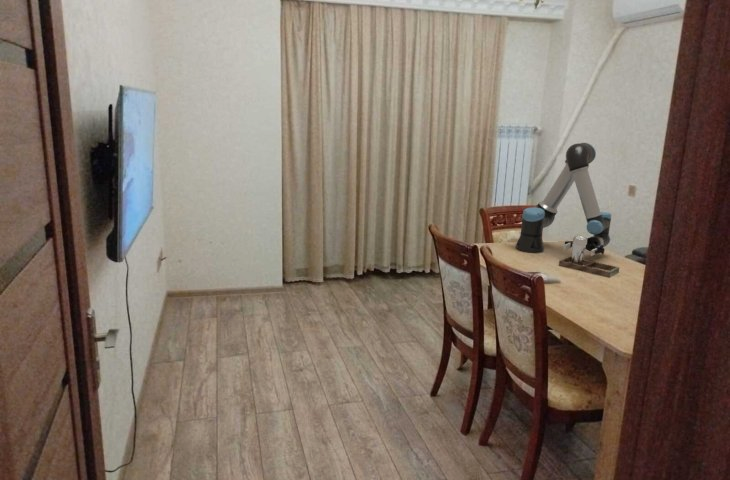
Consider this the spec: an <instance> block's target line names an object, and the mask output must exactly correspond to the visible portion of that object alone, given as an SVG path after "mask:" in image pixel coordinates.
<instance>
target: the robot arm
mask: <svg viewBox="0 0 730 480" xmlns="http://www.w3.org/2000/svg"><path fill="white" fill-rule="evenodd" d="M596 155H597V153H596V149H595V147H594V146H593V145H592V144H591V143H588V142H581V143H580V142H579V143H574V144H572V145H570V146H569V147H568V149H567V150H566V152H565V160H564V163H565V165H564V167H563V168H562V170H561V172H560V173H559V175H558V177H557V178H556V180H555V181H554V183H553V184H552V186H551V188H550V189H549V191H548V192H547V194H546V196H545V197H544V199H543V200H541V201H539V202H538V204H537V205H536V206H535V207H534V206H533V207H527V208H525V209H523V213H522V215H521V216H522V217H521V225H520V235H519V238H518V240H517V242H516V244H515V249H516V250H517V251H520V252H524V253H525V252H526V253H533V254H536V253H543V252H544V249H545V247H544V246H545V245H544V241H543V230H544V229H545V228H548V227H550V226H551V225H552V224H553V223H554V221H555V218H556V217H555V216H556V215H557V214H558V207H559V205H560V204H561V202H562V201H563V200H564V198H565V196H566V195H567V194H568V192H569V190H570V189H571V187H572V186H573V184H574V183H575V185H576V190H577V193H578V196H579V200H580V204H581V206H582V210H583V212H584V213H583V214H584V216H585V220H586V223H587V225H586V230H587V233H589V234H590V235H593V236H590V237H586V238H587V248H586V251H588V252H590V256H591V257H593V256H595V255H597V254H601V255H605V254H604V253H605V247H606V246H607V245H609V244H610V242H611V237H610V228H611V222H612V214H611V212H608V211H607V212H606V211H601V210H600V206H599V203H598V200H597V197H596V193H595V189H594V186H593V182H592V180H591V176H590V173H589V167H590V164H591V163H593V161H594V160H595V159H596ZM572 242H573V240H570V241H569V240H567V241H566V240H565V241H564V245H563V251H566V250H569V249H571V248H572Z"/></svg>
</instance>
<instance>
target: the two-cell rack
mask: <svg viewBox="0 0 730 480" xmlns="http://www.w3.org/2000/svg"><path fill="white" fill-rule="evenodd" d="M571 261H572V256H568V257H565V258H564V259H560V260H559V262H558V266H559V267H562V268H563V267H564V268H568V269H571V270H575V271H580V272H583V273H588V274H592V275H597V276H601V277H605V278H606V277H607V278H610V277H613V276H614V275H617V274H618V273H619V272H620V267H619V266H615V265H610V264H606V263H602V262H601V263H600V262H596V261H593V260H592V261H591V260H587V259H584V258H583V266H582V265H577V264H573V263H571Z"/></svg>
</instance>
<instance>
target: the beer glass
mask: <svg viewBox="0 0 730 480" xmlns="http://www.w3.org/2000/svg"><path fill="white" fill-rule="evenodd" d="M587 238H588V237H585V236H581V235H580V236H578V235H577V236H573V237H572V241H573V242H572V247H571V257H572V261H571V262H570V263H573V264H577V265H582V266H584V265H583V259H584V257H585V254H586V252H587V249H586V248H587Z"/></svg>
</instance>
